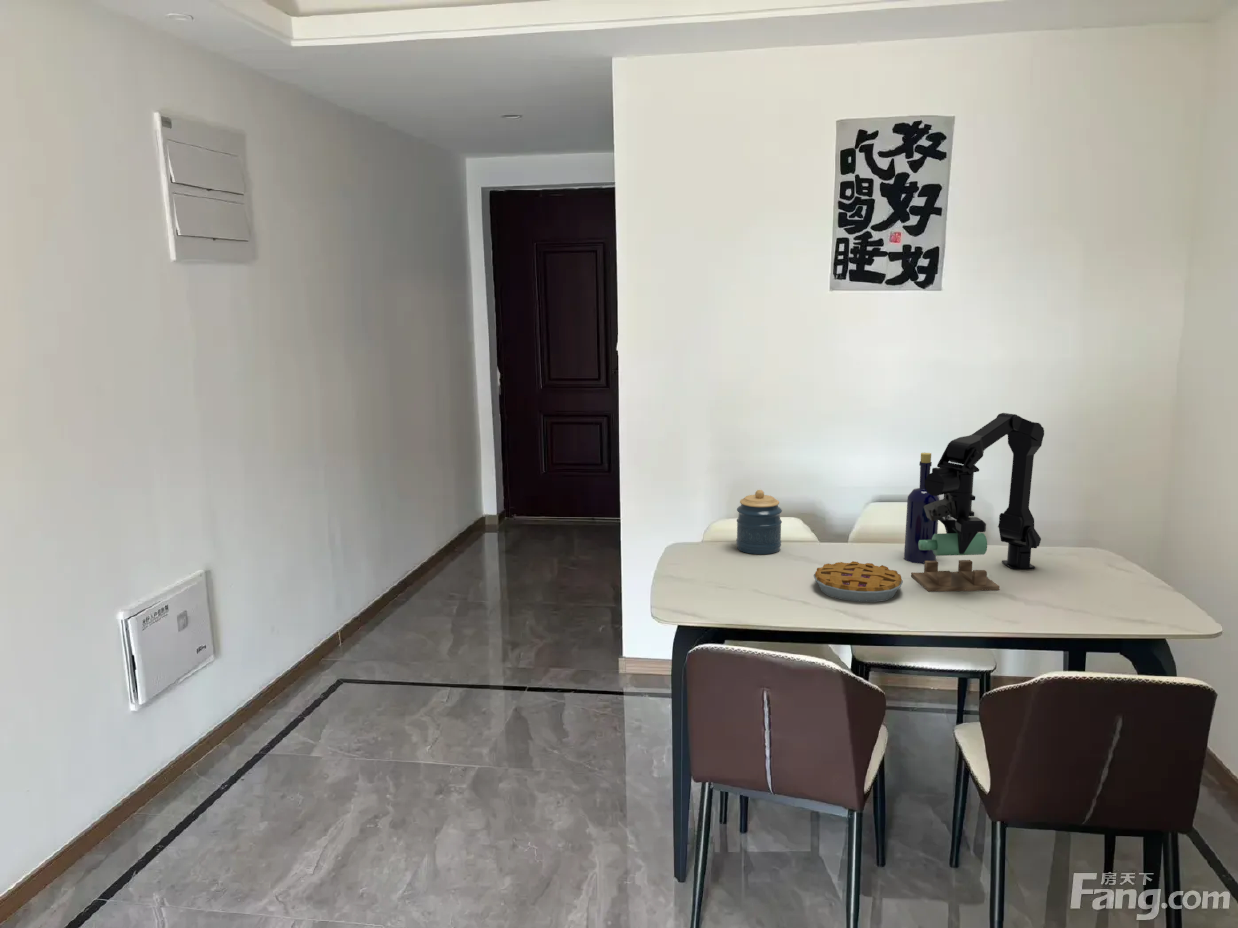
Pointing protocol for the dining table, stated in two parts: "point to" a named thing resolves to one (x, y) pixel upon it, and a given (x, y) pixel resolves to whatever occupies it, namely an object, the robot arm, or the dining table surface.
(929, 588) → the bottle rest
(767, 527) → the canister
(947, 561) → the dining table surface
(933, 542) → the small bottle
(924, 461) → the bottle
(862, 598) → the pie
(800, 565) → the dining table surface
